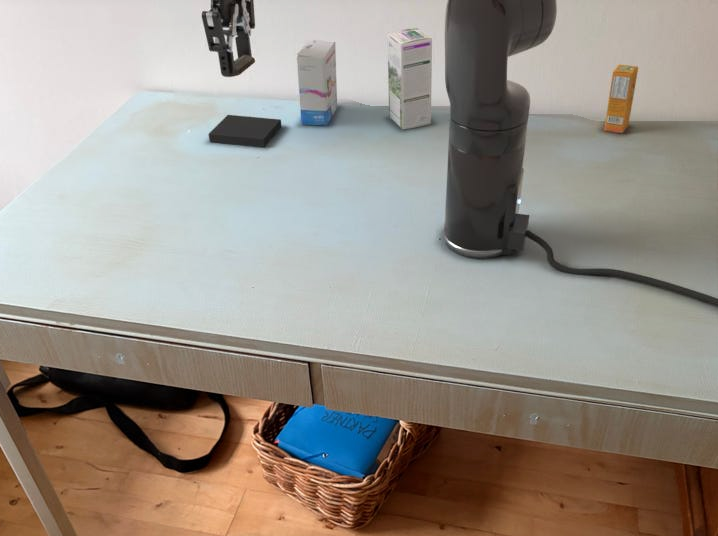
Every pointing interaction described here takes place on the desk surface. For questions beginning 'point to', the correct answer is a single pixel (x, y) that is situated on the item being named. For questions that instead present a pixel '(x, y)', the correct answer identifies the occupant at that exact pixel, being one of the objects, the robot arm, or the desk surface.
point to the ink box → (317, 82)
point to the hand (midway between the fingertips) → (237, 67)
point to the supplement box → (620, 98)
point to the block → (242, 64)
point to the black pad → (245, 131)
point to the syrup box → (409, 78)
